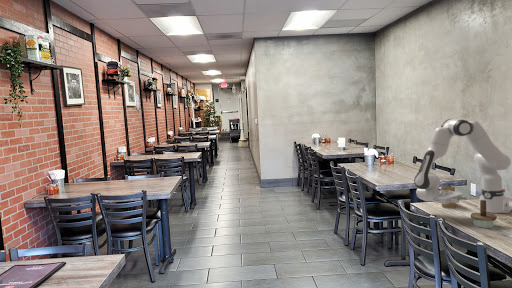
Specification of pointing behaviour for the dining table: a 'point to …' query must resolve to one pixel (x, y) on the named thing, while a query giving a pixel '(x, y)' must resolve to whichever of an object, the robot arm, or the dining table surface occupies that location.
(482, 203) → the walnut lid
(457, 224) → the dining table surface
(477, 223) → the celadon bowl
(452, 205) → the sandwich container
